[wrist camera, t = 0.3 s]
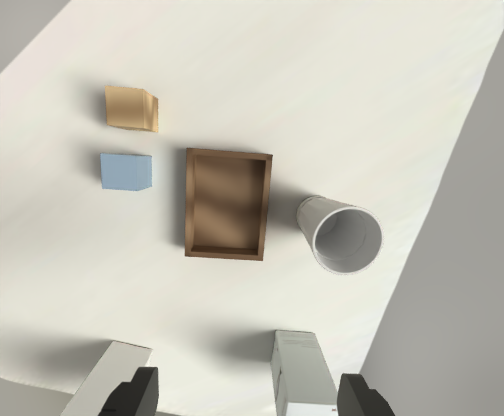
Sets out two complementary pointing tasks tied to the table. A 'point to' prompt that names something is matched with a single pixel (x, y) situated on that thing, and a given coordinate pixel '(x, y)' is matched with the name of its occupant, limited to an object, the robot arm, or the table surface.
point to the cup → (340, 234)
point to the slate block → (126, 171)
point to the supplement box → (301, 376)
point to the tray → (226, 204)
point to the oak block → (131, 109)
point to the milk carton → (107, 378)
